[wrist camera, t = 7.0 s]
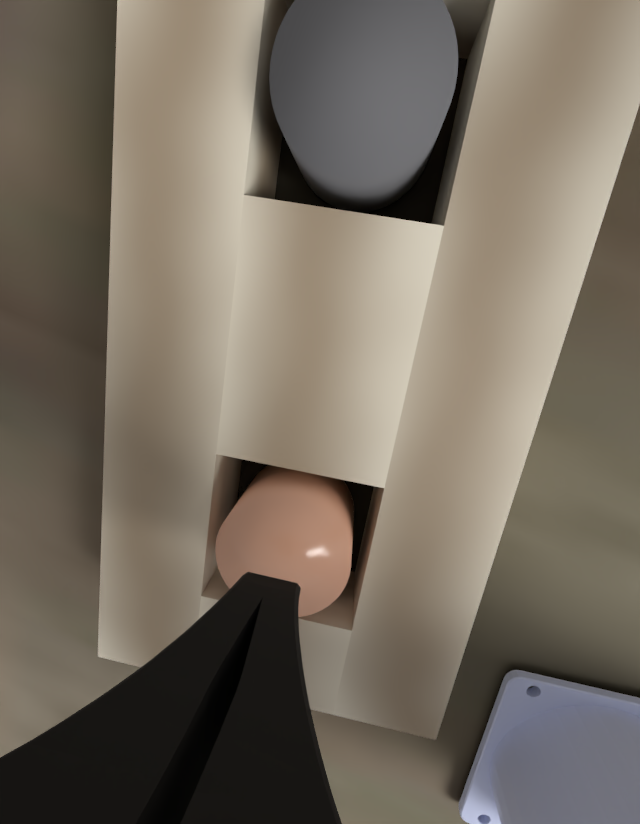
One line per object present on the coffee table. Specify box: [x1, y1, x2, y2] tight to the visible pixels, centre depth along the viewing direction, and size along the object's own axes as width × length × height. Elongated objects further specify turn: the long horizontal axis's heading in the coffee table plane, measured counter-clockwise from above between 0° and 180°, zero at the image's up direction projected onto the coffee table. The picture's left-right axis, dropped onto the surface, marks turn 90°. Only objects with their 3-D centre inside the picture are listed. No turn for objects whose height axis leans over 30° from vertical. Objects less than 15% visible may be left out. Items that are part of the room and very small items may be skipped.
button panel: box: [98, 0, 640, 740], centre depth 12 cm, size 12×24×3 cm, turn 170°
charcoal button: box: [269, 0, 458, 212], centre depth 10 cm, size 4×4×3 cm
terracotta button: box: [215, 465, 354, 617], centre depth 13 cm, size 4×4×3 cm
